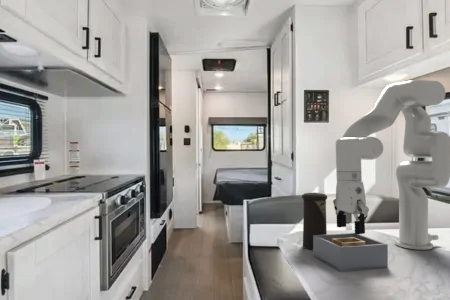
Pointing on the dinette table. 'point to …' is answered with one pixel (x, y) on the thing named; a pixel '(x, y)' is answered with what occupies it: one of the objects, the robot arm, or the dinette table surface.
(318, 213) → the container
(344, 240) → the wooden crate
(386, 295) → the dinette table surface
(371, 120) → the robot arm
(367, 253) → the grey crate
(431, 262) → the dinette table surface
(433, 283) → the dinette table surface
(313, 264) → the dinette table surface
